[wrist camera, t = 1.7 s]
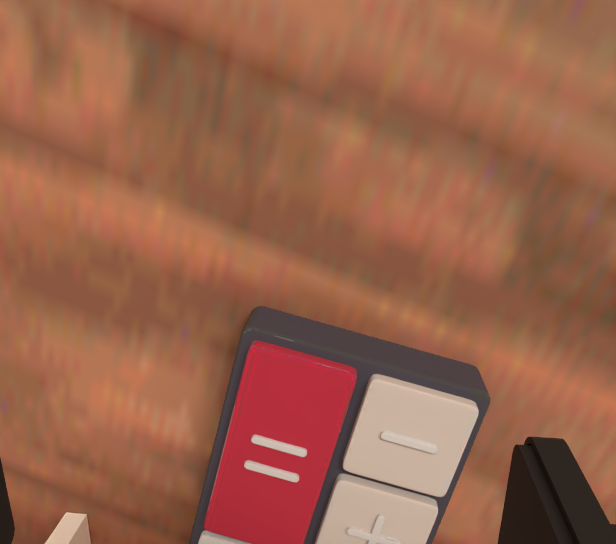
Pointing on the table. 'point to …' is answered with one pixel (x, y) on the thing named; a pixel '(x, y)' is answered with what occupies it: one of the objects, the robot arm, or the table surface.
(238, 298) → the table surface
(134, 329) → the table surface
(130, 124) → the table surface
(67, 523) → the slot
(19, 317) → the table surface
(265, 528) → the calculator
